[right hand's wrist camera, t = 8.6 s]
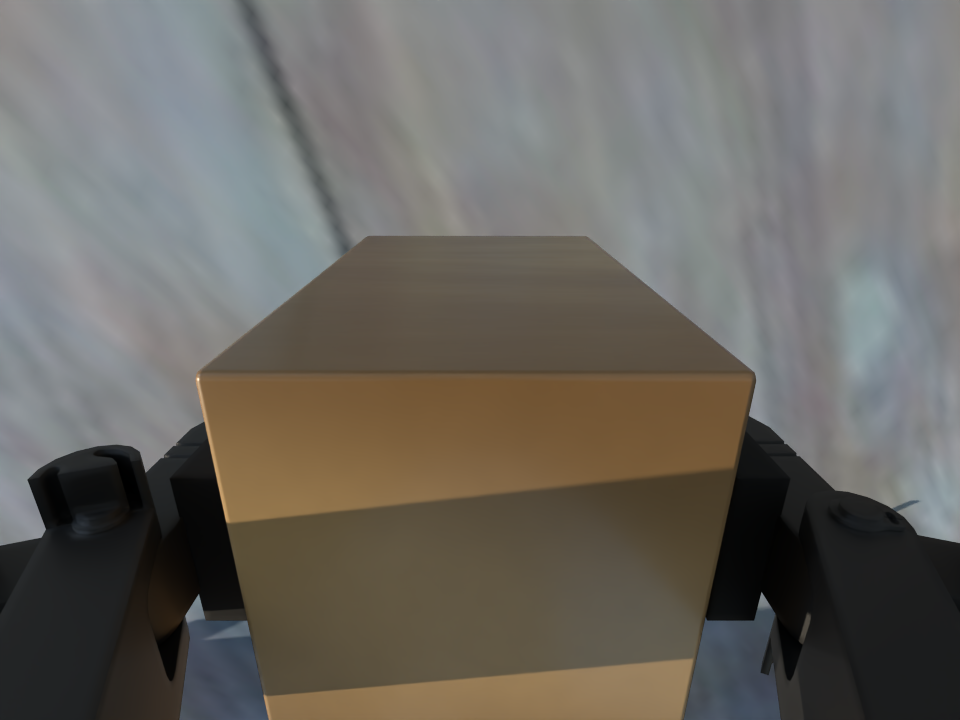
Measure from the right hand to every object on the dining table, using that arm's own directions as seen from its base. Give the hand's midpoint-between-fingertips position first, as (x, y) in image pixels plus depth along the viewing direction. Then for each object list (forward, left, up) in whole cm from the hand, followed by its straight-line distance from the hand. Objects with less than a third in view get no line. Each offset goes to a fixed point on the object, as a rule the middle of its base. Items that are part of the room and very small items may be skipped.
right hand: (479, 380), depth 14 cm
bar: (+7, +6, -1) cm, 9 cm away
